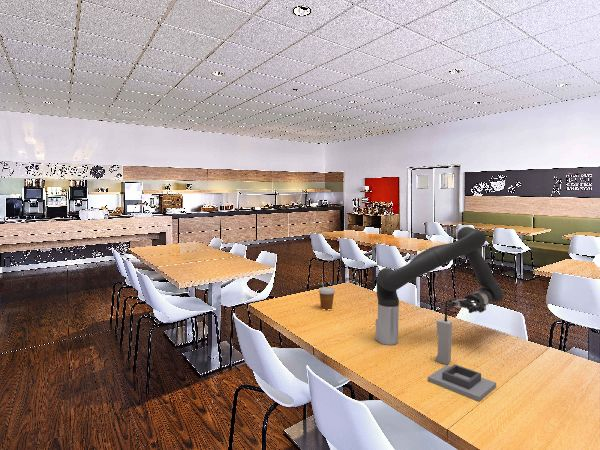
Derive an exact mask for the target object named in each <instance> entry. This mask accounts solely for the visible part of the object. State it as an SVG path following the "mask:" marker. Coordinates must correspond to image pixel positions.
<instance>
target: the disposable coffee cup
mask: <svg viewBox="0 0 600 450" xmlns="http://www.w3.org/2000/svg"><path fill="white" fill-rule="evenodd" d="M335 292H336V291H335V288H333V287H330V286H326V287H325V286H324V287H319V290H318V293H319V301H320V308H322V309H325V310H328V309H332V310H333V306H334V305H333V304H334V298H335V297H334V296H335ZM322 309H321V310H322ZM325 310H324V311H325Z"/></svg>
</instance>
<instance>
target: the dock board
mask: <svg viewBox="0 0 600 450" xmlns="http://www.w3.org/2000/svg"><path fill="white" fill-rule="evenodd" d="M427 381H428V382H430V383H432V384H435V385H437V386H440V387H442V388H444V389H447V390H450V391H451V392H455V393H458V394H460V395H462V396H465V397H466V398H469V399H472V400H475V401H478V402H481V400H483V399H484V398H485V397H487V395H488V394H490V393H491V392H492V391H493V390H495V388H497V382H495V381H492V380H489V379H487V378H484V377H482V373H481V372H478V371H475V370H473V369H470V368H467V367H464V366H462V365H458V364H457V363H456V364H454V363H453V365H449V364H445V365H444V366H443V367H441V368H439V369H438V370H436V371H435V372H433V373H432V374H430V375H428V376H427Z"/></svg>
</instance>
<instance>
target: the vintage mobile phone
mask: <svg viewBox="0 0 600 450" xmlns="http://www.w3.org/2000/svg"><path fill="white" fill-rule="evenodd" d="M452 328H453V321H452V320H449V319H448V300H445V310H444V318H438V319H437V320H436V333H437V336H438V337H437V341H438V342H437V354H436V356H435V357H434V361H435V362H436V363H439V364H440V363H441V364H443V365H449V364H450V363H451V361H452V360H451V359H452V340H453V339H452V336H453V335H452V334H453V332H452V330H453V329H452Z"/></svg>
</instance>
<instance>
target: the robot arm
mask: <svg viewBox="0 0 600 450" xmlns="http://www.w3.org/2000/svg"><path fill="white" fill-rule="evenodd" d="M456 234H457V235H456V239H457V240H455V241H453V242H449V243H444V244H438V245H435V246H431V247H429V248H426V249H424V250H423V251H421V252H419V253H418V254H417V255H416V256H414V258H413V259H412V260H411V261H410V262H409V263H407V264H405V265H403V266H401V267H399V268H397V269H392V268H390V267H385V268H381V270H379V271H378V273H377V275H376V298H377V318H376V319H375V336H374V337H375V339H374V340H376V341H377V342H378V343H379V344H382V345H388V346H392V345H396V344H398V343H399V320H400V319H399V316H400V315H399V314H400V313H399V312H400V310H399V309H400V301H399V300H400V298H399V297H398V292H397V291H398V290H399V289H401V288H402V287H404V286H405V285H407V284H409V283H411V281H413V280H415V279H418V278H419V277H422V276H423V275H425V274H427V273H430V272H431V271H434V270H435V269H438V268H439V267H441V266H444V265H445V264H447V263H449V262H451V261H454V260H455V259H458V258H459V257H462V256H464V255H466V257H467V260H468V261H469V263H470V266H471V268H472V270H473V273H474V276H475V277H476V281H477V283H478V285H479V286H480V287H479V289H478V290H477V291H473V292H472V293H469V294H467V295H465V296H464V297H463V298H461V299H458V298H457V297H453V298H450V299H448V302H447V308H449V309H453V308H458V309H461V308H462V309H466V310H468V313H469V314H472V313H477V312H478V313H483V312H485V311H486V310H487V306H489V305H490V304H491V302H492V303H500V302H502V301H503V299H504V291H503V289H502V288H501V286H500V285H499V284H498V282H497V280H495V277H494V276H493V273H492V270H491V268H490V266H489V263H487V261H486V260H485V258H484V257H483V255H482V254H481V252H480V250H479V249H480V248H482V247H483V246H484V245H485V244H486V240H487V236H486V234H485V233H484V232H483V231H482V230H479V229H478V228H477V229H476V228H474V227H470V226H463V227H461V228H460V229H458V231H457V233H456Z"/></svg>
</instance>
